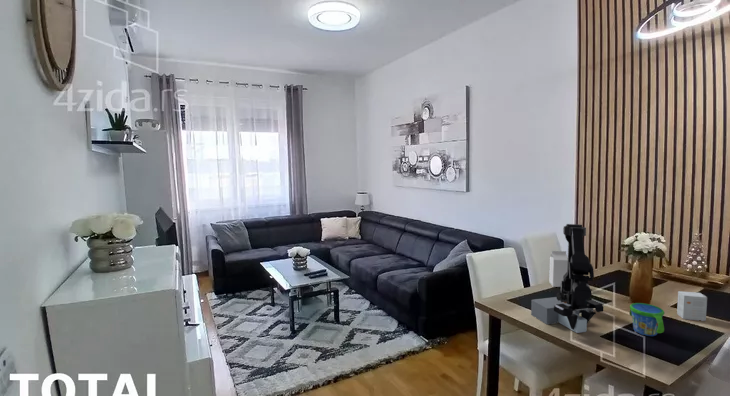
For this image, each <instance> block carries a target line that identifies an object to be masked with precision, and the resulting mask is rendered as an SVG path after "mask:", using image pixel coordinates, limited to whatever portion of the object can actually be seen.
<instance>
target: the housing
mask: <svg viewBox="0 0 730 396" xmlns="http://www.w3.org/2000/svg"><path fill="white" fill-rule="evenodd" d="M530 304H531V305H530V306H531V309H530V310H531V311H530V315H531V316H532V317H534V318H535V317H536V318H535V319H537V320H539V321H540V322H542V323H543V324H544V325H554V323H555V324H558V323H559V322H558V313H557V312H555V311H554V306H555V305H556V304H565V305H567V306H571V305H570V304H567V303H564V302H561V301H558V300H557V297H556V296H553V297H545V298H535V299H531V303H530ZM580 313H581V312H580V310H577V311H575V314H577V315H579V316H580Z"/></svg>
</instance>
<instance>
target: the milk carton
mask: <svg viewBox="0 0 730 396" xmlns="http://www.w3.org/2000/svg"><path fill="white" fill-rule="evenodd" d="M567 263H568V254H567V251H566V250H565V251H564V250H563V251H562V250H561V251H560V250H552V251H551V254H550V256H549V273H548V274H549V276H548V277H549V281H548V282H549V284H550V285H551V286H552V287H553V288H556V287H557V288H561V281H563V276H564V275H565V274H566V272H567Z"/></svg>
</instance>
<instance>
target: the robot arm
mask: <svg viewBox="0 0 730 396" xmlns="http://www.w3.org/2000/svg"><path fill="white" fill-rule="evenodd" d="M562 231H563V235H564V237H565V238H564V239H565V240H566V241H567V243H568V245H567V258H568V263H567V272H566V274H565V275H564V276H563V281H561V287H560V292H556V296H555V297H557V300H558V301H561V302H567V304H570V305H571V306H567V305H565V304H556V305H555V306H554V311H555V312H557V313H559V314H560V315H562V316H567V318H568V321H569V323H570V326H571V329H573V330H574V328H575V325H576V321H577V317H578V315H576V314H575V311H577V310H580V312H579V313H580V316H581V317H583V318H585V319H587V325H588V323H590V320H591V319H593V317H594V316H595V315H597V313H601V312H604V305H603V304H602V303H600V302H598V301H596V300H594V299H591V300H589V299H590V298H591V297H592V295H593V293H592V292H593V291H592V289H591V287H590V285H589V281H591V282H593V279H594V277H595V273H594V272H595V271H594V266H593V264H592V263H591V262H590V257H588V256H587V254H586V253H585V251H586V250H585V242H584V237H585V236H587V227H585V226H583V225H582V224H575V223H566V225H565V226H564V225H563V229H562ZM571 329H570V330H571ZM573 330H572V331H573Z"/></svg>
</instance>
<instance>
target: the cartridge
mask: <svg viewBox="0 0 730 396" xmlns="http://www.w3.org/2000/svg"><path fill="white" fill-rule="evenodd" d="M576 315H577V314H576ZM558 323H559V324H561V325H562V326H564V327H566V328H568V329H569V330H571V331H573V332H575V333H576V334H578V333H586V332H587V329H588V328H587V327H588V324H587V319H585V318H583V317H581V315H580V314H579V315H578V317H577V321H576V325H575V328H574V330H573V329H571V326H570V323H569V321H568V318H567V316H562V315H560V314H559V313H558Z"/></svg>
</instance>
